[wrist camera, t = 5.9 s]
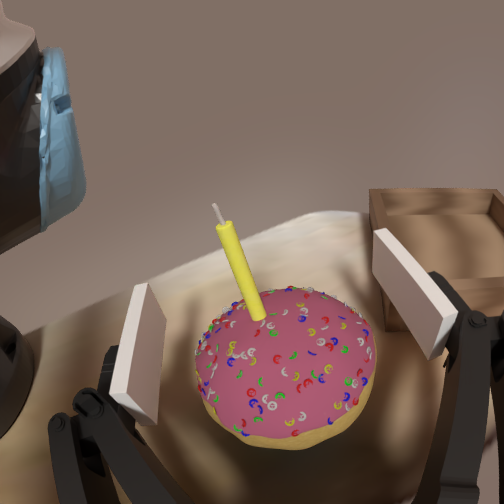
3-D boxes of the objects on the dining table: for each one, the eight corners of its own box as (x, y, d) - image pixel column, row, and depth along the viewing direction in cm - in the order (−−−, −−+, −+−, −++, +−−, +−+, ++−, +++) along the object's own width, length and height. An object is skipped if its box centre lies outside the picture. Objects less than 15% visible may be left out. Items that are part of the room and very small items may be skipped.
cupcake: (193, 414, 16) (89, 249, 10) (281, 328, 21) (248, 159, 15) (308, 499, 11) (282, 387, 4) (393, 380, 16) (429, 185, 9)
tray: (385, 331, 19) (391, 293, 17) (369, 219, 31) (369, 189, 29) (551, 314, 14) (568, 280, 13) (491, 218, 26) (496, 189, 24)
